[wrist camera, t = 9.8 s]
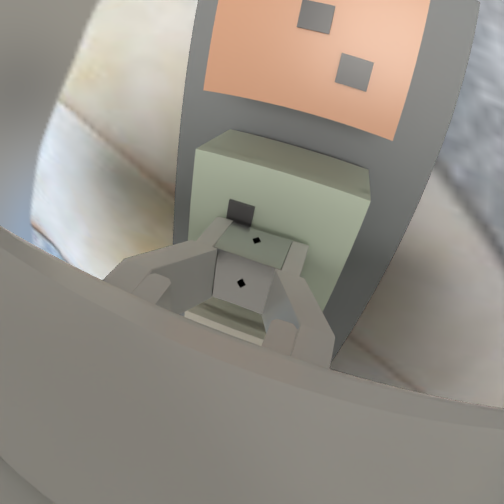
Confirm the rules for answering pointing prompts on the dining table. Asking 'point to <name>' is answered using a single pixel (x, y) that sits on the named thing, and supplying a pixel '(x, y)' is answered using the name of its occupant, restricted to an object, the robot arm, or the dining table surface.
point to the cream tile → (229, 319)
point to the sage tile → (282, 199)
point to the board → (342, 145)
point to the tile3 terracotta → (320, 56)
